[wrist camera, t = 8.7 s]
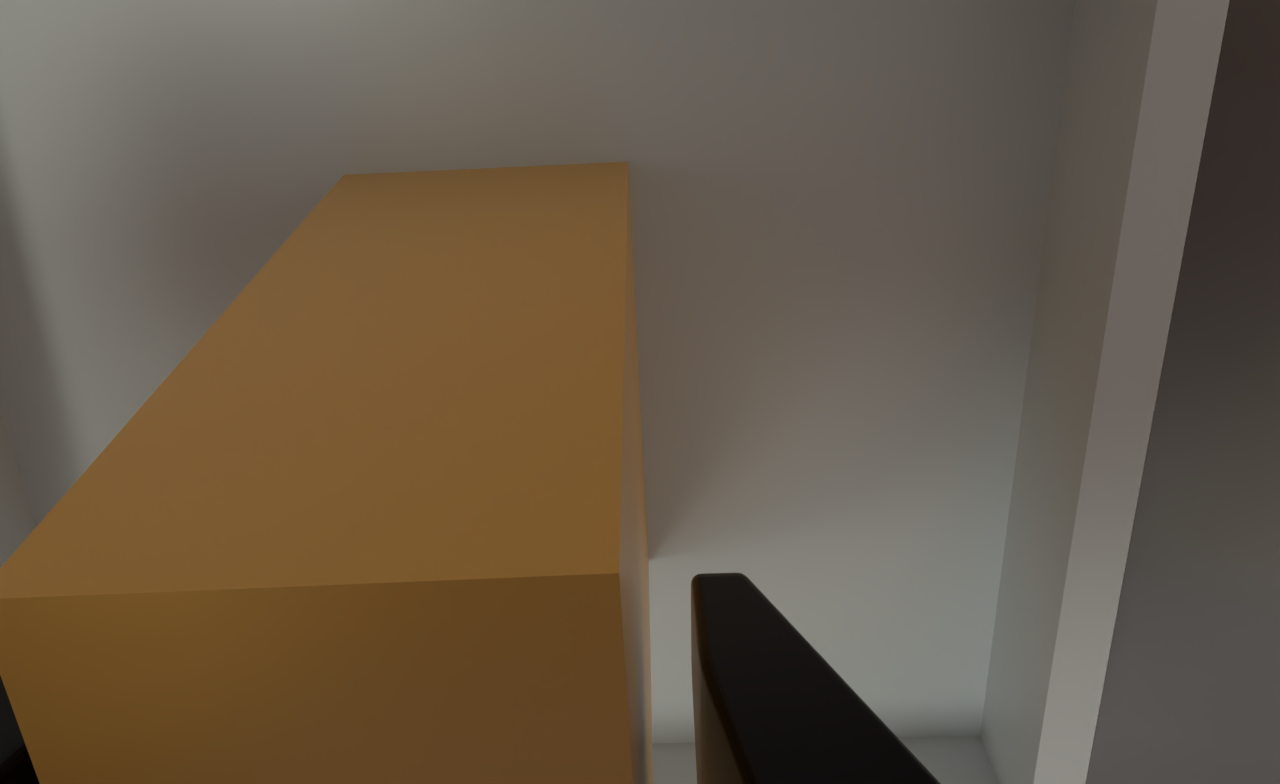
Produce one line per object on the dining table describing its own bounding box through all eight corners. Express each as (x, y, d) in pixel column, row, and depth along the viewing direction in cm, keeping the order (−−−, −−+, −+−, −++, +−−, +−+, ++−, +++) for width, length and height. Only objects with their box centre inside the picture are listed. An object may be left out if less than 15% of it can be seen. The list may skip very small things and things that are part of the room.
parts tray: (89, 759, 16) (1, 906, 14) (-200, -186, 11) (-411, -192, 9) (1006, 737, 16) (1067, 882, 14) (1143, -228, 11) (1274, -246, 9)
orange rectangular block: (407, 570, 14) (201, 1229, 7) (343, 175, 12) (-27, 598, 5) (648, 561, 14) (660, 1216, 7) (628, 162, 12) (618, 574, 5)
